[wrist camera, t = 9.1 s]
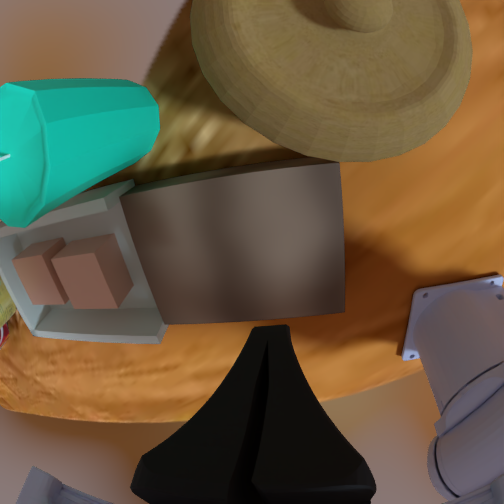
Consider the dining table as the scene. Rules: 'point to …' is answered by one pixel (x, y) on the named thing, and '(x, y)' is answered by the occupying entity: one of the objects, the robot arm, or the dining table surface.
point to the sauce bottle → (5, 304)
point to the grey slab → (242, 241)
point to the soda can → (4, 334)
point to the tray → (65, 316)
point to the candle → (68, 140)
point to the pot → (336, 70)
